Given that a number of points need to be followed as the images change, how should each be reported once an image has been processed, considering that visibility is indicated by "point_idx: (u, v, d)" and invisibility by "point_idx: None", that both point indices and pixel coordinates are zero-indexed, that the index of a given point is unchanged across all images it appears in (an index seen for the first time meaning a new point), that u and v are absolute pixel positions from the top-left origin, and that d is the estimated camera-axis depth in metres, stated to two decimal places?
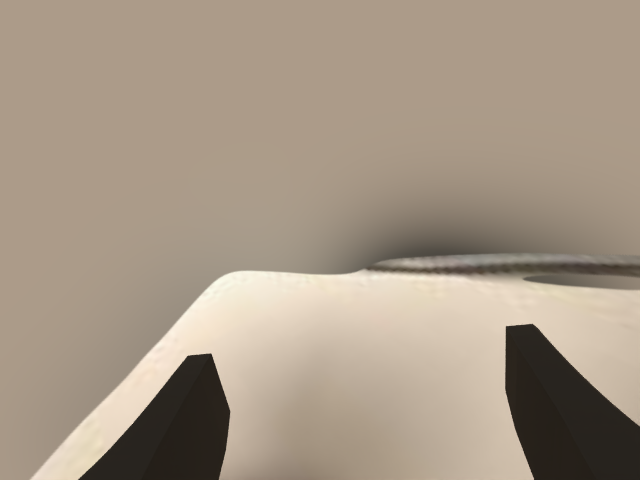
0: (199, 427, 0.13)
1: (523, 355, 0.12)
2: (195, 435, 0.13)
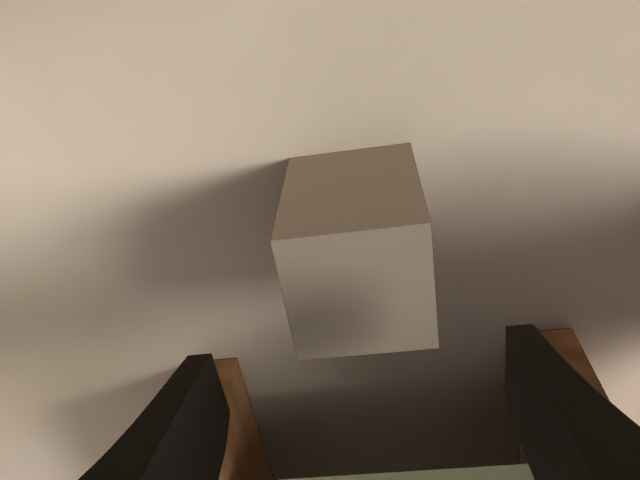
0: (199, 427, 0.13)
1: (523, 355, 0.12)
2: (196, 434, 0.13)
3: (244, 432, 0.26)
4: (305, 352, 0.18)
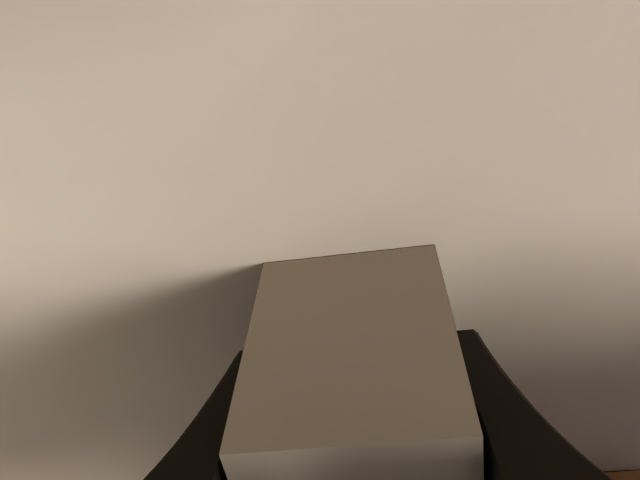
0: None
1: None
2: None
3: None
4: None
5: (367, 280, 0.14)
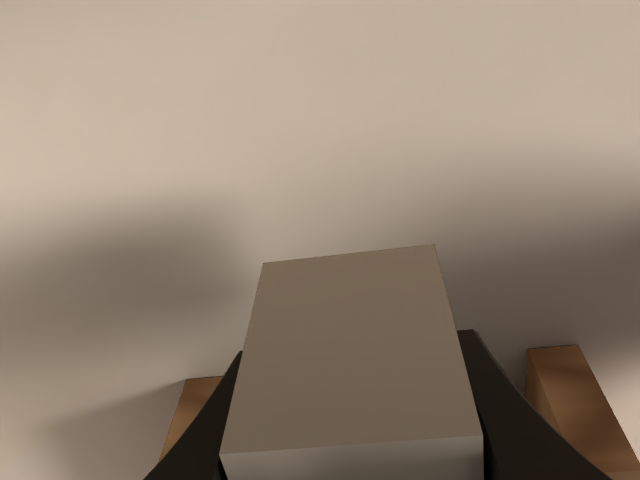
0: None
1: None
2: None
3: None
4: None
5: (367, 280, 0.14)
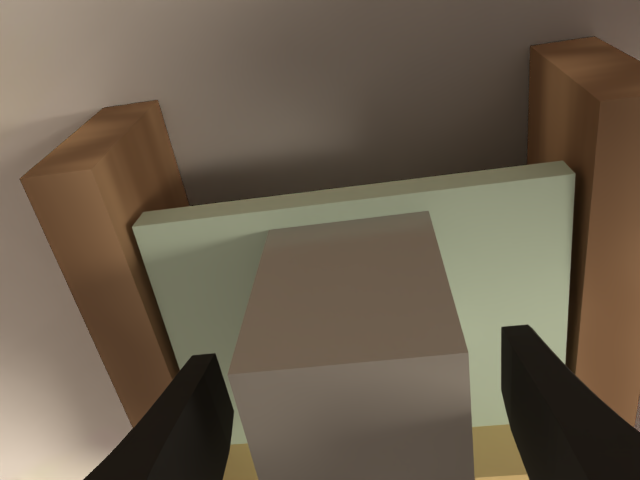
0: (203, 427, 0.13)
1: (518, 355, 0.12)
2: (200, 434, 0.13)
3: (166, 194, 0.20)
4: None
5: (365, 239, 0.15)
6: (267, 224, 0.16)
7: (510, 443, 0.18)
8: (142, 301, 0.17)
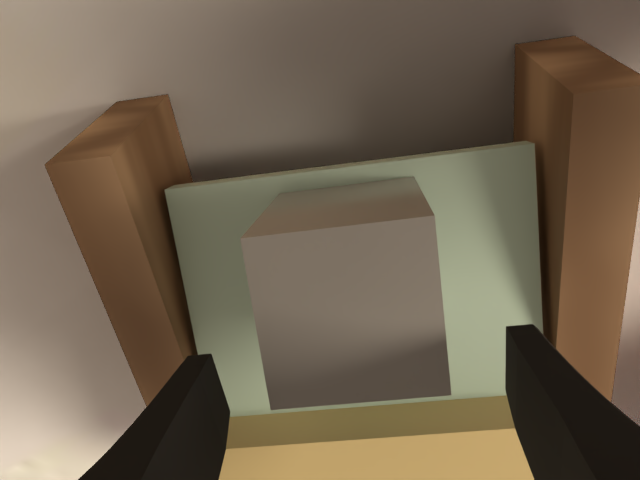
0: (199, 427, 0.13)
1: (523, 355, 0.12)
2: (195, 434, 0.13)
3: (176, 183, 0.21)
4: (280, 398, 0.14)
5: (359, 189, 0.17)
6: (278, 188, 0.19)
7: (496, 408, 0.19)
8: (156, 279, 0.18)
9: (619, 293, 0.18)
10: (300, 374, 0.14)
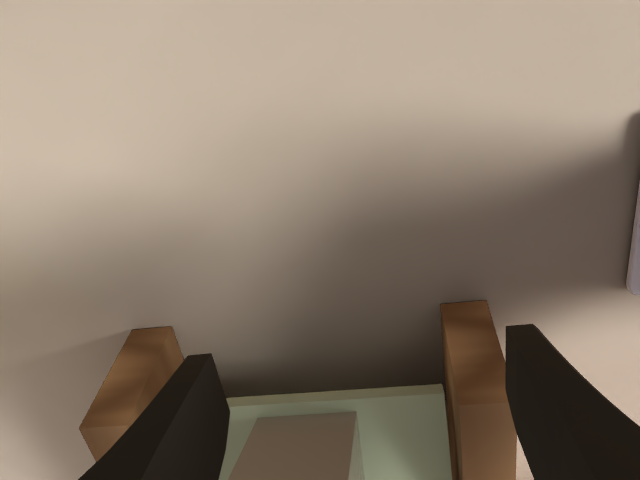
0: (199, 427, 0.13)
1: (523, 355, 0.12)
2: (195, 435, 0.13)
3: None
4: None
5: (313, 427, 0.24)
6: (256, 414, 0.25)
7: None
8: None
9: None
10: None
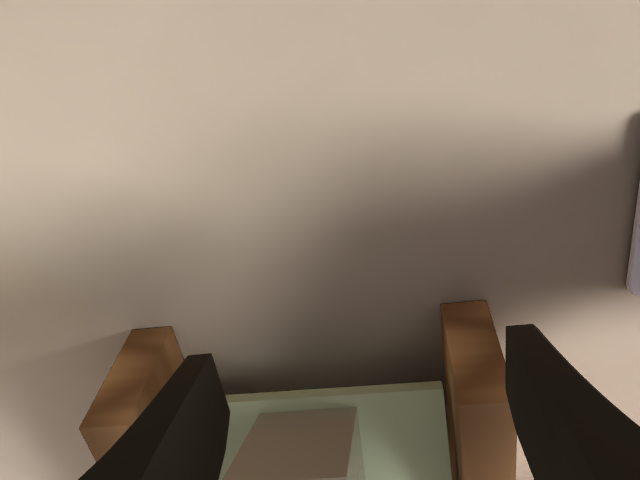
0: (199, 427, 0.13)
1: (523, 355, 0.12)
2: (195, 435, 0.13)
3: None
4: None
5: (314, 421, 0.24)
6: (258, 409, 0.26)
7: None
8: None
9: None
10: None
